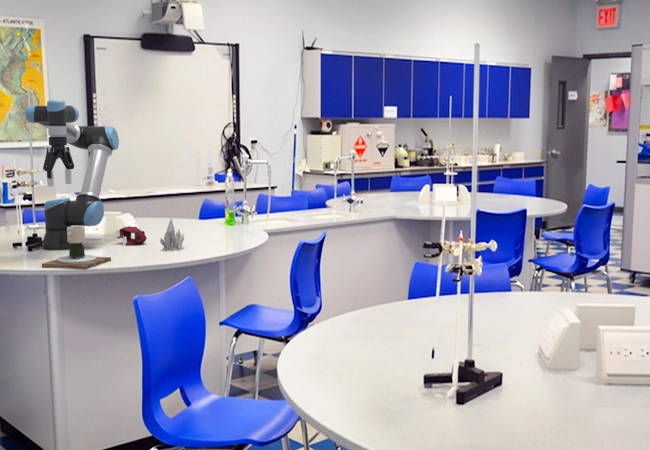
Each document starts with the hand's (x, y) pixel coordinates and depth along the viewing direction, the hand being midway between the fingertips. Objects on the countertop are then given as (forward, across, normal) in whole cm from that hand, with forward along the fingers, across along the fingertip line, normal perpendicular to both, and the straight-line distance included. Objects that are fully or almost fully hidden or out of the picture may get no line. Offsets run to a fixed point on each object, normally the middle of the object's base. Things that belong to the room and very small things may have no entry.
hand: (60, 185), depth 327 cm
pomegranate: (+32, -40, +12) cm, 53 cm away
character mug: (+29, +15, +16) cm, 37 cm away
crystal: (+32, -30, +39) cm, 59 cm away
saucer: (+30, +15, +16) cm, 37 cm away
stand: (+32, +15, +16) cm, 39 cm away
